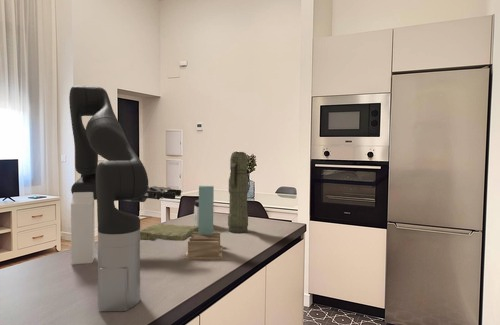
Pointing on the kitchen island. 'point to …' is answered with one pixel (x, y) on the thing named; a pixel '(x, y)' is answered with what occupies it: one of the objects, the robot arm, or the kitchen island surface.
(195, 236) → the walnut offcut
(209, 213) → the teal board
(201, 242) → the beech rack
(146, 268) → the kitchen island surface
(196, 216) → the jar
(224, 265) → the kitchen island surface
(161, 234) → the decorative tile
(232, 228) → the thermos
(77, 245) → the milk
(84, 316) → the kitchen island surface
